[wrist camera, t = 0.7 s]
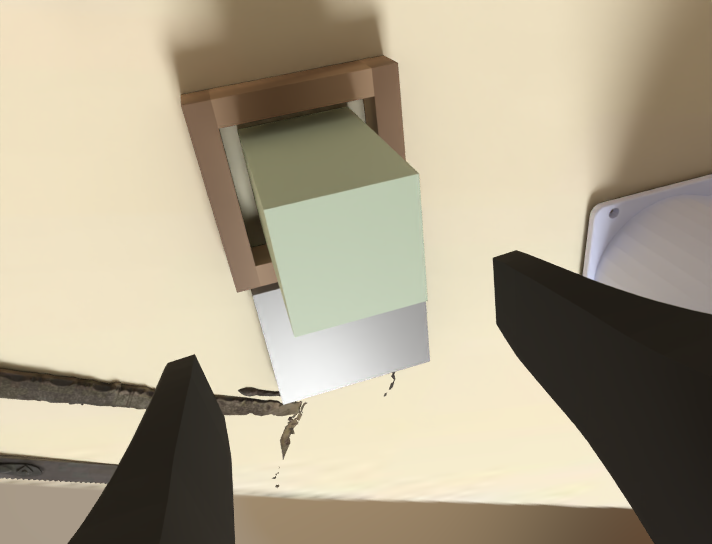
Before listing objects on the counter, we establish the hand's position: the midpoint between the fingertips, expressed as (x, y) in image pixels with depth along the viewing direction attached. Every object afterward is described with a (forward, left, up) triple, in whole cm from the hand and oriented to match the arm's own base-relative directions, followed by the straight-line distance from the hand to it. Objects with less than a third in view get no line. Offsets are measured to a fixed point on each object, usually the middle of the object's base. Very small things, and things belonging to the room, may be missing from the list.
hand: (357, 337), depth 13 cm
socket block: (-1, -1, -9) cm, 9 cm away
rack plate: (-1, +6, -9) cm, 11 cm away
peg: (-1, -1, -9) cm, 9 cm away
